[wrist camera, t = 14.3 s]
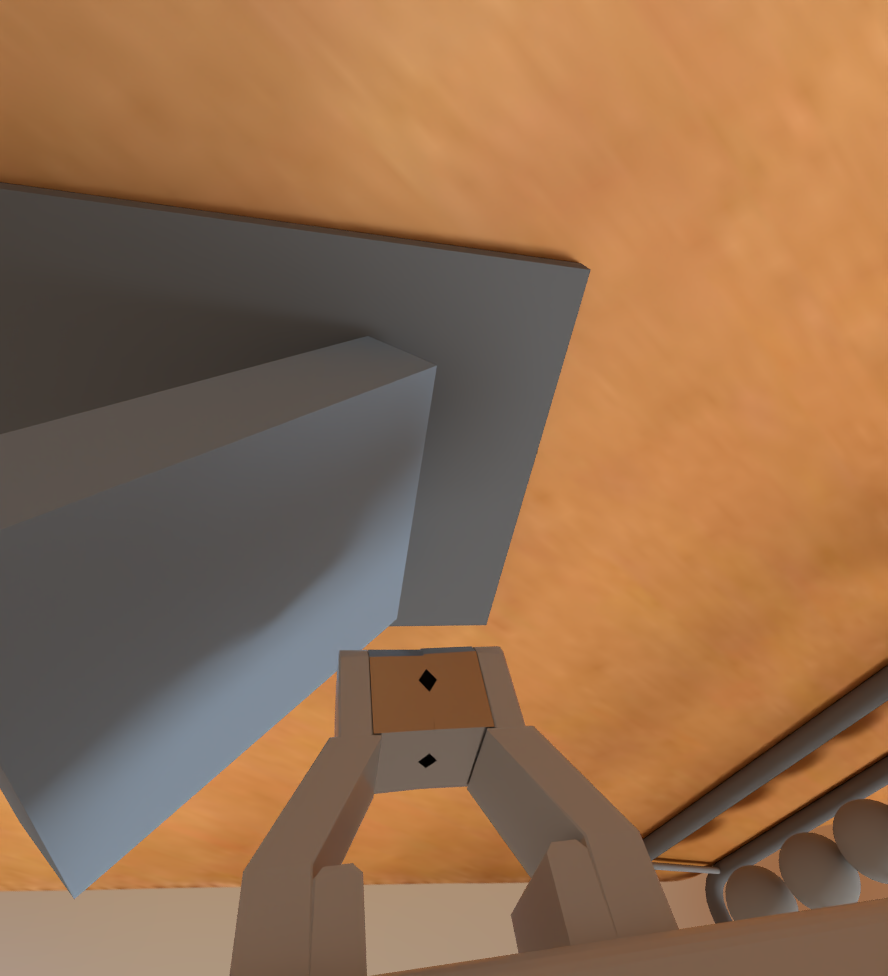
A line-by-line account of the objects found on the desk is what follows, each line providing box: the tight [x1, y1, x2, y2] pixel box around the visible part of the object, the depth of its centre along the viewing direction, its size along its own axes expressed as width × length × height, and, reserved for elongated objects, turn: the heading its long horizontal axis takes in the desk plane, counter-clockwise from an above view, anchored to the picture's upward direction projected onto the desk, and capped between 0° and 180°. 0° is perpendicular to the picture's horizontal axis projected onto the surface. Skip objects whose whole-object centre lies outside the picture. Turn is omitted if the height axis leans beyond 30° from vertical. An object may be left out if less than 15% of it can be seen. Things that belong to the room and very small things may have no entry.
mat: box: [0, 182, 590, 626], centre depth 14 cm, size 12×16×1 cm
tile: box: [0, 336, 437, 899], centre depth 11 cm, size 2×8×9 cm
